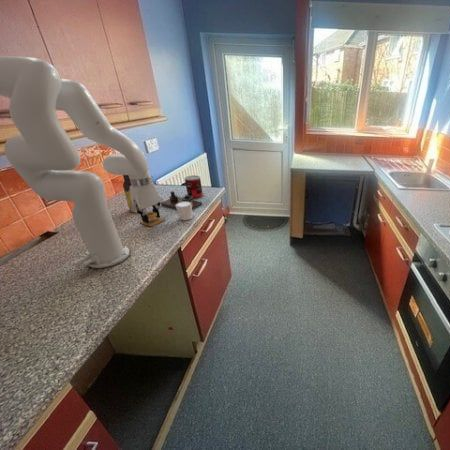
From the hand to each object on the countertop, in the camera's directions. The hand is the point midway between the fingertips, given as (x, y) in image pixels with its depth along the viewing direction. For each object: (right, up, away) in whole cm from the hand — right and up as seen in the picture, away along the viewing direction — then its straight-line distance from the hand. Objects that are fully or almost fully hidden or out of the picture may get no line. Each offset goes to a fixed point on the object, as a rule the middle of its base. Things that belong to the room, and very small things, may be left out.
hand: (151, 219), depth 113 cm
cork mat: (0, -1, +1) cm, 1 cm away
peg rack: (+5, +8, +18) cm, 21 cm away
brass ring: (0, +1, -1) cm, 2 cm away
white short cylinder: (+13, +1, +6) cm, 14 cm away
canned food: (+7, +14, +30) cm, 34 cm away
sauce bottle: (-14, +5, +12) cm, 19 cm away
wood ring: (+10, +10, +15) cm, 20 cm away
